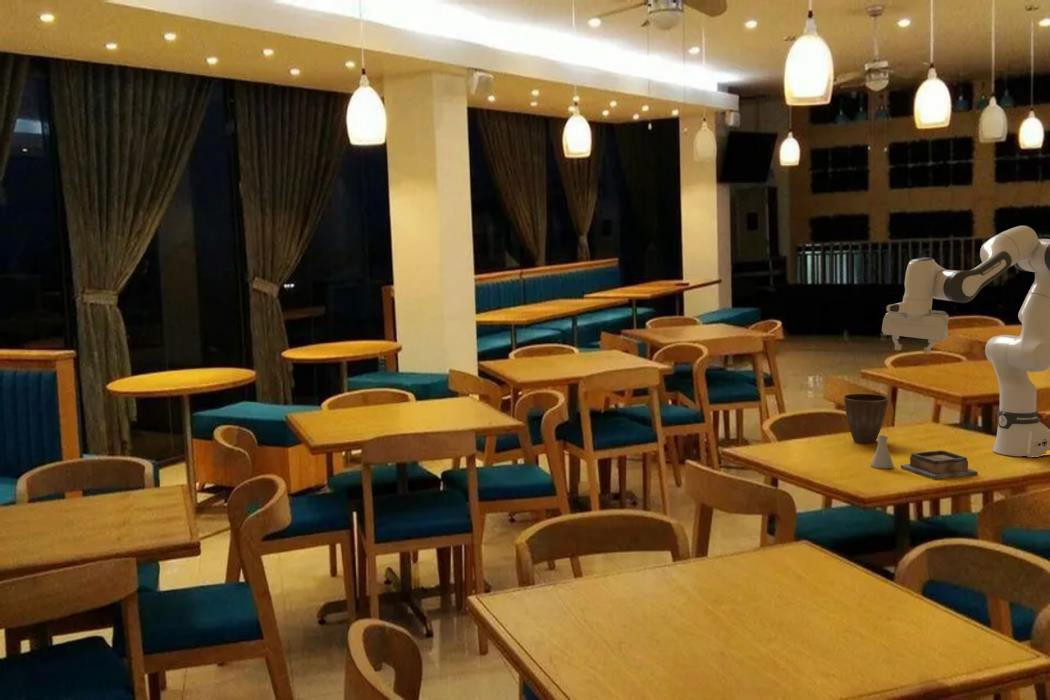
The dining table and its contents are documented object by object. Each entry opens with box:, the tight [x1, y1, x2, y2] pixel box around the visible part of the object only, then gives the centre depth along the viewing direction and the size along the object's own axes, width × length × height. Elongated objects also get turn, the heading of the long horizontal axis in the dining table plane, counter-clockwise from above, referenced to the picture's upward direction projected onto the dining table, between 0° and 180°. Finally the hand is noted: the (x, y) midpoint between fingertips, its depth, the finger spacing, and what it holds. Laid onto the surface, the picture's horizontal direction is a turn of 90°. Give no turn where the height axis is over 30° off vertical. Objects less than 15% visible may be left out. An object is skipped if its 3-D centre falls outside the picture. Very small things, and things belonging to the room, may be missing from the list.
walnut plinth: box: [900, 450, 979, 480], centre depth 330 cm, size 16×16×5 cm
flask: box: [870, 434, 895, 469], centre depth 337 cm, size 7×7×10 cm
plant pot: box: [843, 393, 889, 444], centre depth 374 cm, size 15×15×16 cm
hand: (912, 351), depth 336 cm, fingers open, 8 cm apart
